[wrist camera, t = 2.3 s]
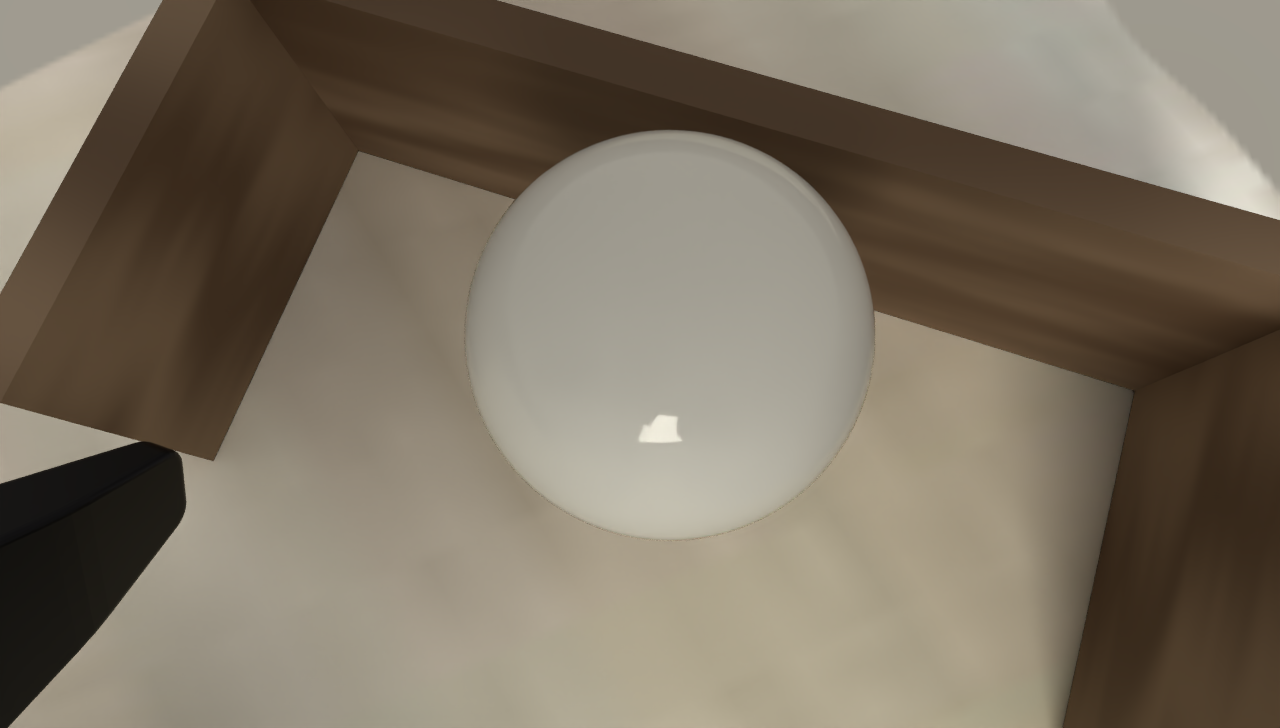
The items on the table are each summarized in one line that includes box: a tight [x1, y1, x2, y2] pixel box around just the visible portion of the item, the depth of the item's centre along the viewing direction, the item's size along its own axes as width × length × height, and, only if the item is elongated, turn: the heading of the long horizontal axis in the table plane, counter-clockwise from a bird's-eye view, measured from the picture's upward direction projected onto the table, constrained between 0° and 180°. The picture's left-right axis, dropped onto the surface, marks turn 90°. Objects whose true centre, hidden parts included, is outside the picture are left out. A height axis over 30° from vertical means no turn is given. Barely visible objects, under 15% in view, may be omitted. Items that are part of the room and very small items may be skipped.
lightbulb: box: [464, 130, 875, 541], centre depth 16 cm, size 6×6×11 cm
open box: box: [0, 0, 1280, 728], centre depth 18 cm, size 10×23×7 cm, turn 71°
